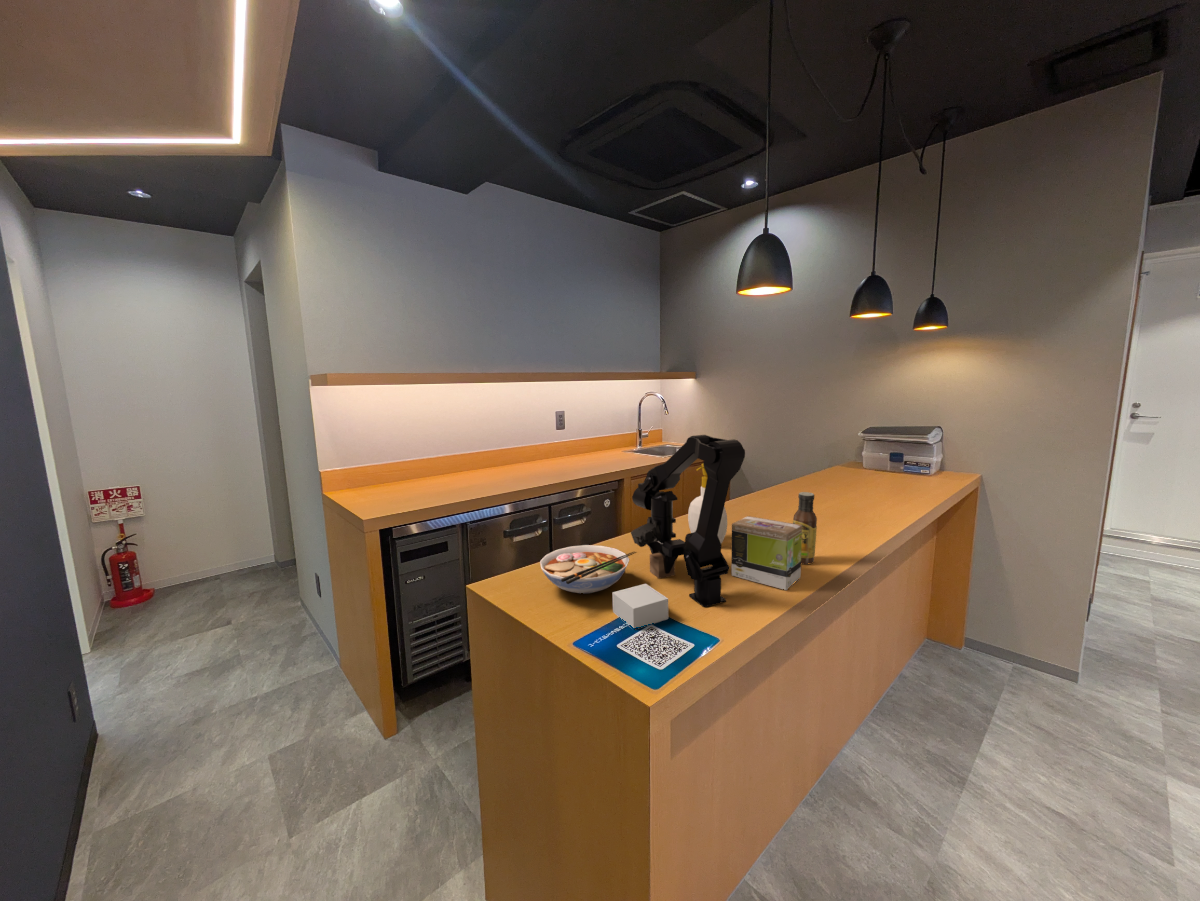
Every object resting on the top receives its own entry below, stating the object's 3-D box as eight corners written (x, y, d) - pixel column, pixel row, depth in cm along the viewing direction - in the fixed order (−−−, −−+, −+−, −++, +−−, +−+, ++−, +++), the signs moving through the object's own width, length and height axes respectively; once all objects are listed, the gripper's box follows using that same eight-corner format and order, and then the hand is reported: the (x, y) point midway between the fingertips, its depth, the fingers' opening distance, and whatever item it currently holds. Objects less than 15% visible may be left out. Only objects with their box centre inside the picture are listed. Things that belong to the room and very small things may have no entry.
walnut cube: (675, 575, 126) (675, 557, 126) (658, 578, 124) (658, 560, 124) (665, 568, 131) (665, 551, 130) (649, 571, 129) (649, 554, 128)
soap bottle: (679, 541, 153) (679, 462, 149) (698, 535, 158) (698, 459, 154) (714, 553, 141) (715, 468, 137) (733, 546, 146) (734, 464, 143)
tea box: (801, 579, 122) (803, 524, 120) (786, 592, 115) (788, 534, 113) (747, 564, 132) (748, 514, 130) (729, 576, 125) (730, 522, 123)
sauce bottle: (785, 559, 135) (788, 492, 132) (800, 555, 138) (803, 489, 135) (805, 567, 129) (807, 497, 126) (820, 562, 132) (823, 493, 129)
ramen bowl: (590, 562, 137) (589, 535, 136) (651, 584, 121) (651, 554, 120) (519, 590, 120) (517, 559, 118) (579, 621, 103) (578, 586, 102)
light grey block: (668, 619, 103) (668, 598, 103) (633, 630, 99) (633, 608, 99) (645, 603, 111) (645, 583, 111) (612, 613, 107) (612, 592, 106)
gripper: (619, 509, 131) (621, 563, 133) (651, 528, 114) (652, 589, 116) (655, 504, 135) (655, 556, 137) (691, 521, 118) (691, 580, 120)
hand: (662, 569), depth 128 cm, fingers closed on walnut cube, 5 cm apart
